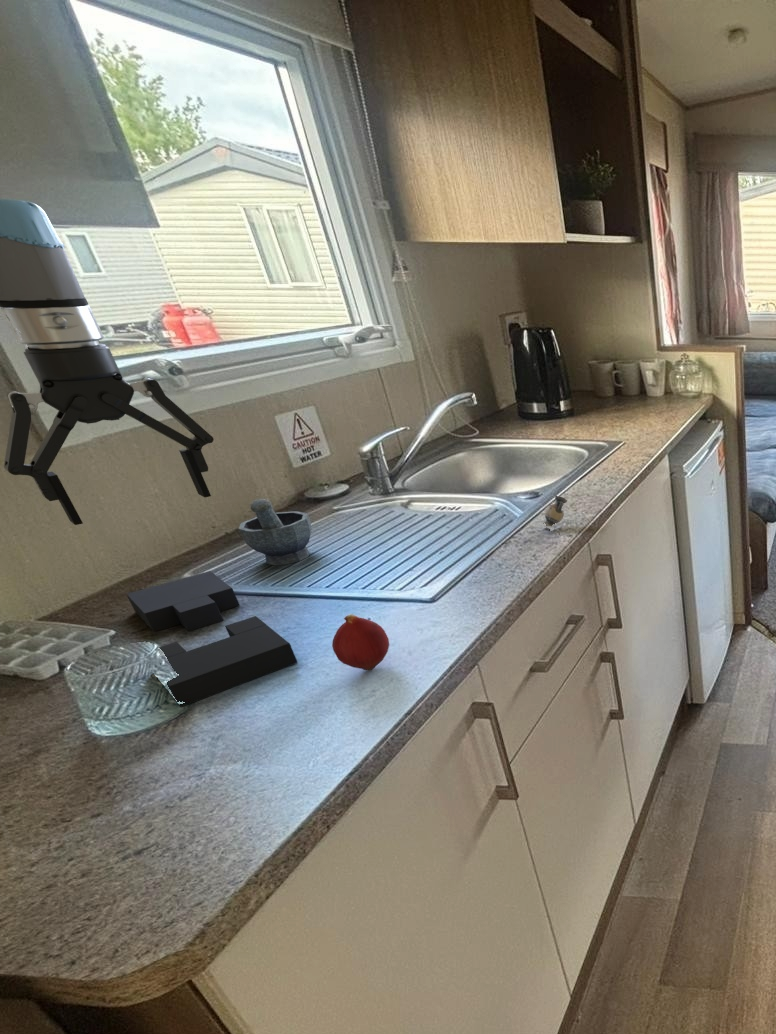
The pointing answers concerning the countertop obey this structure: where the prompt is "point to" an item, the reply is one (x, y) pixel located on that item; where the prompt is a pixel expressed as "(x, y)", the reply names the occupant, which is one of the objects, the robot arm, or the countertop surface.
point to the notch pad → (227, 660)
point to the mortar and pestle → (277, 533)
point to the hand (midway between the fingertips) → (144, 508)
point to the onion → (360, 643)
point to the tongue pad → (184, 602)
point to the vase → (554, 511)
